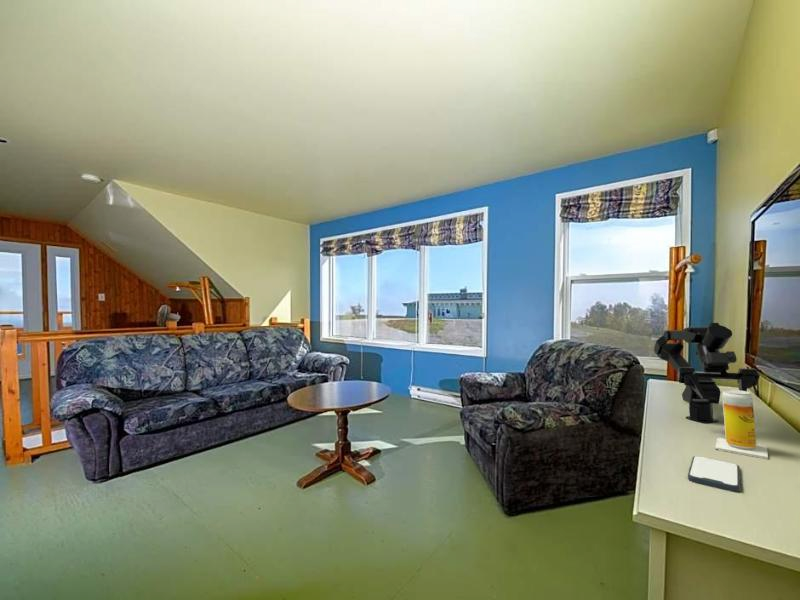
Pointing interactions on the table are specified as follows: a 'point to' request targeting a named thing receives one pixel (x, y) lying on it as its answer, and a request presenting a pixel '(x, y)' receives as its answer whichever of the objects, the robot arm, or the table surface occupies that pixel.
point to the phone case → (715, 473)
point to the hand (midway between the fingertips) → (723, 399)
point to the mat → (758, 451)
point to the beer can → (739, 419)
